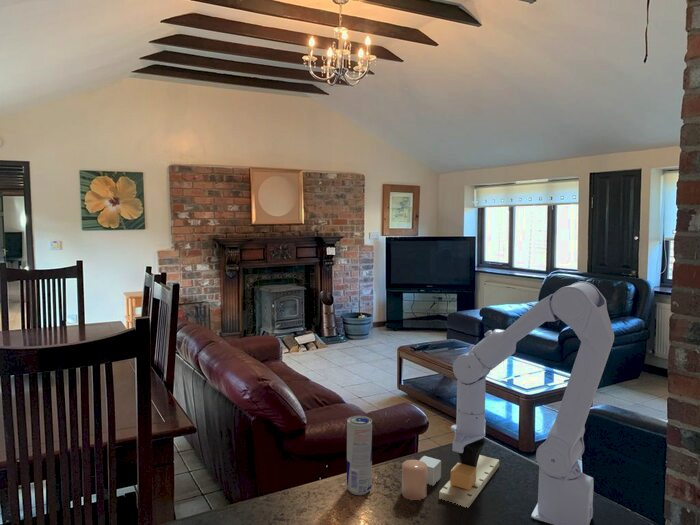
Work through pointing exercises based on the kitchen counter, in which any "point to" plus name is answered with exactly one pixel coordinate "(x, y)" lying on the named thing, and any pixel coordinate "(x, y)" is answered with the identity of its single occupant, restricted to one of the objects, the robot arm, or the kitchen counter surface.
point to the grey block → (432, 469)
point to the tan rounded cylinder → (414, 480)
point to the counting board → (466, 497)
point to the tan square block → (463, 476)
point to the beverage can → (359, 455)
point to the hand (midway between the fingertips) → (468, 472)
